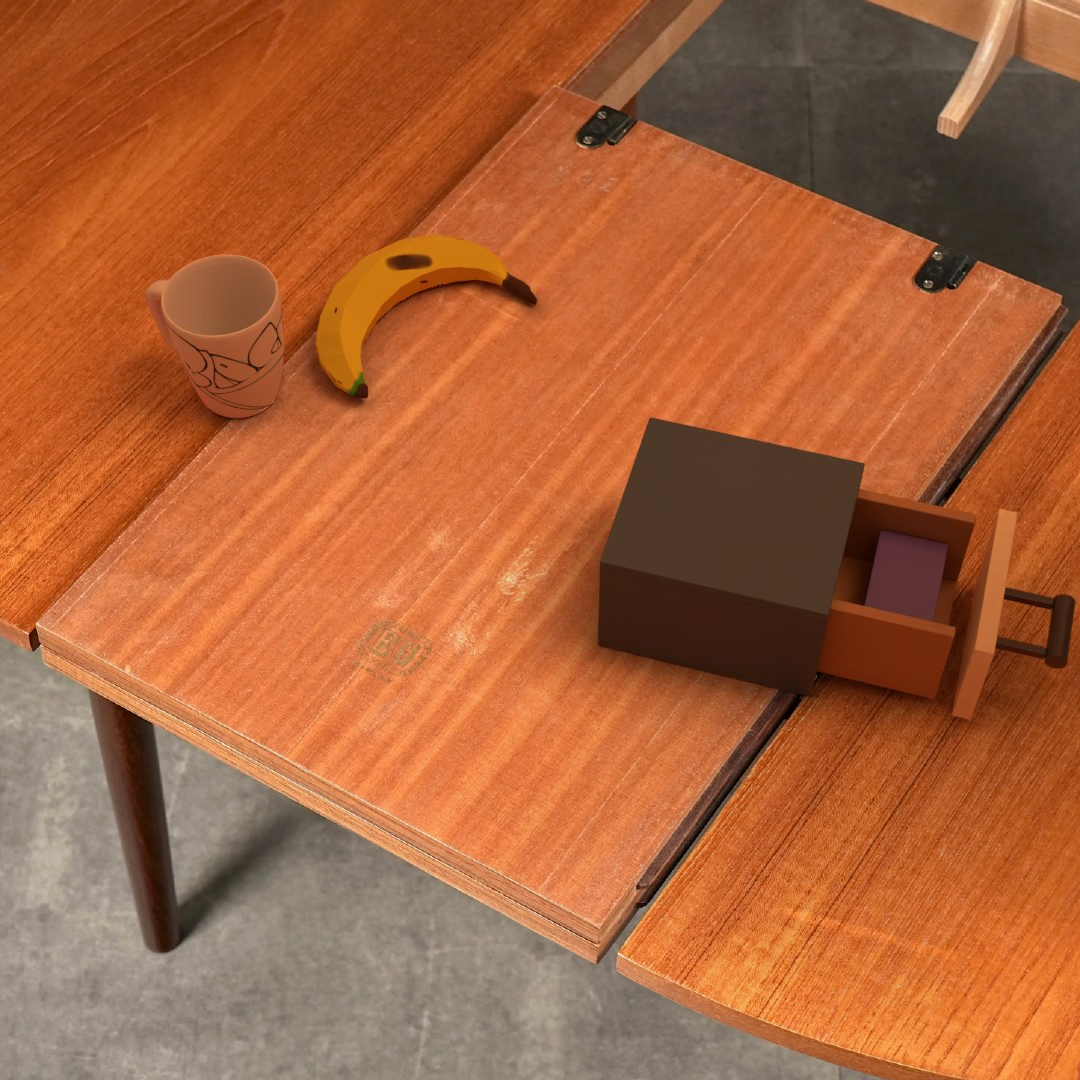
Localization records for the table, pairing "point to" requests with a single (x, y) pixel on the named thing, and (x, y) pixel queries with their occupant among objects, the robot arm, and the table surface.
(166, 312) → the mug
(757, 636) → the cabinet
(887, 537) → the purple block
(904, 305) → the table surface
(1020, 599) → the drawer
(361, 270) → the banana
